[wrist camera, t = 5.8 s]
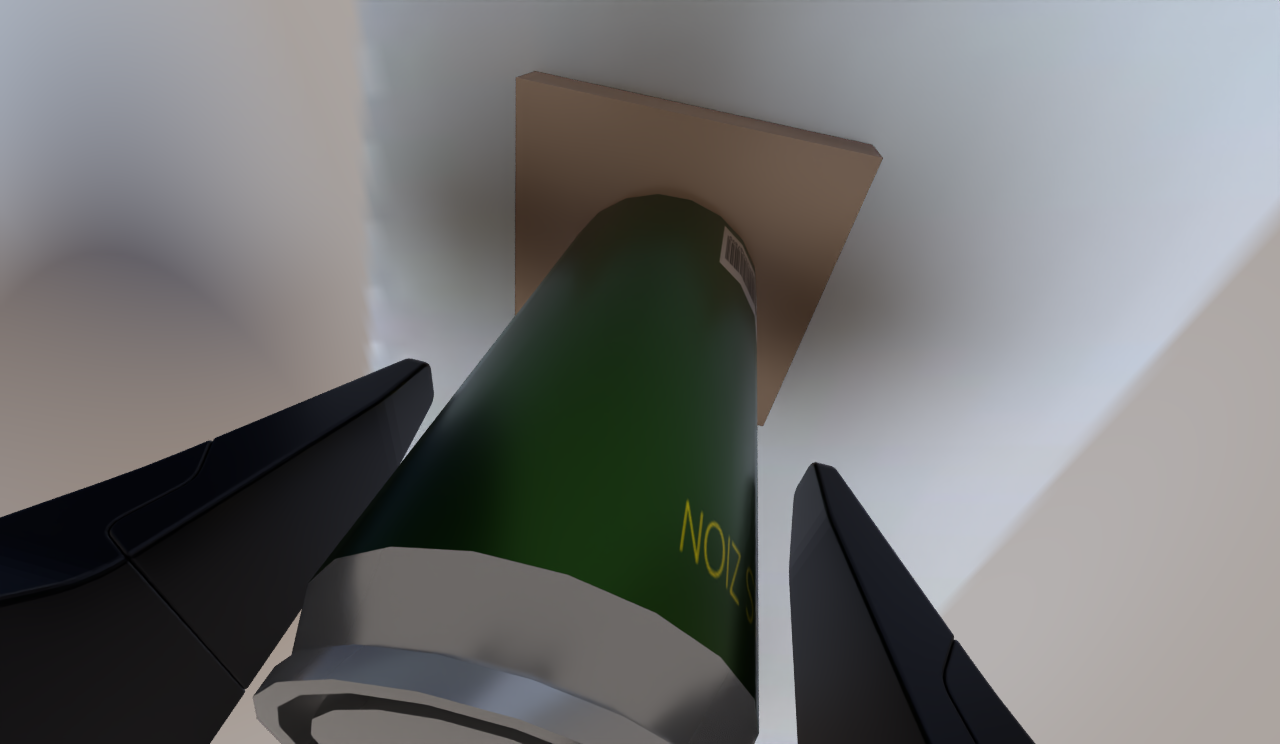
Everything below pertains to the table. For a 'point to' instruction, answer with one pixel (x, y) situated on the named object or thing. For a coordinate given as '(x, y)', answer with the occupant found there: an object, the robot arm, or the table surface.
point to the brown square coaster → (689, 192)
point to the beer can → (563, 522)
